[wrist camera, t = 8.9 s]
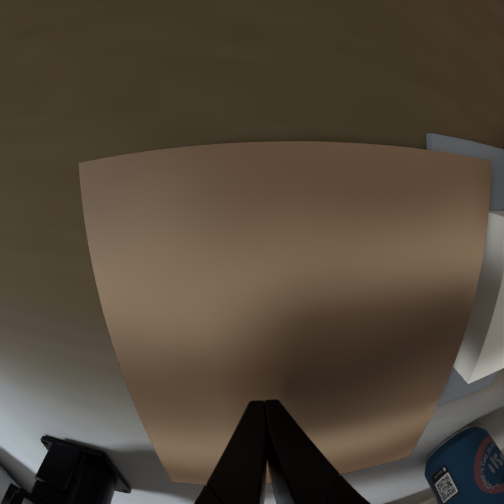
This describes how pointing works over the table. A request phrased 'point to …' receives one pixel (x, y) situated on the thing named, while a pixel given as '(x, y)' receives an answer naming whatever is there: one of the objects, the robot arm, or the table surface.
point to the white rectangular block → (486, 310)
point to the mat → (500, 200)
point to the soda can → (466, 469)
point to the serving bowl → (5, 482)
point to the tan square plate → (286, 289)
